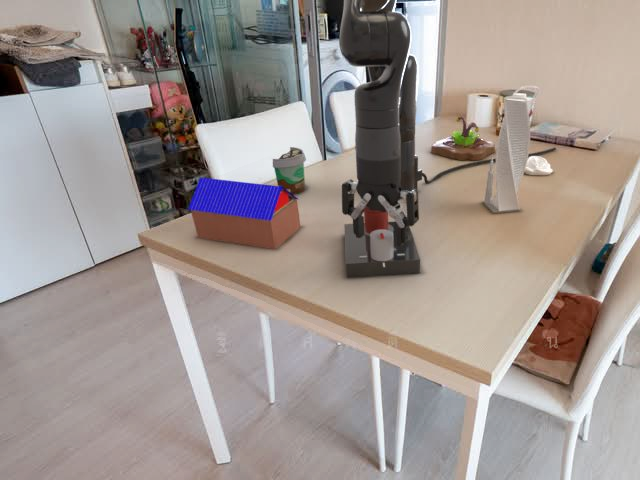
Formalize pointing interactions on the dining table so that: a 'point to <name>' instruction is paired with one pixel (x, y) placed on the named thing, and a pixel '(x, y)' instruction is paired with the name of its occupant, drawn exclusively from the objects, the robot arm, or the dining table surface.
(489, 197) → the skyscraper
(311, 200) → the dining table surface
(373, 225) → the red cylindrical canister
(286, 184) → the food container
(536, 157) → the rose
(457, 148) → the plant
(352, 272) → the hob
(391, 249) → the hob knob
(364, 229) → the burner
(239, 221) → the house
